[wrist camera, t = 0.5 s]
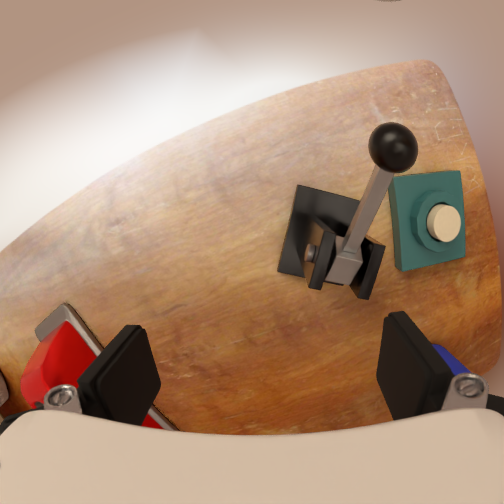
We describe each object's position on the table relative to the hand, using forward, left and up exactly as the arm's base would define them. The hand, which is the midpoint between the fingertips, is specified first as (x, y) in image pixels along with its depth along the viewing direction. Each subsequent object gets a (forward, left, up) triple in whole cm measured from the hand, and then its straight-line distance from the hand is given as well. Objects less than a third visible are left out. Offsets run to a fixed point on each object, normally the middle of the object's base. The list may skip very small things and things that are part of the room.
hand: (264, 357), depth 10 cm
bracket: (+1, +6, -24) cm, 25 cm away
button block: (+1, +20, -24) cm, 31 cm away
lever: (-4, +8, -12) cm, 15 cm away
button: (+1, +20, -20) cm, 28 cm away
